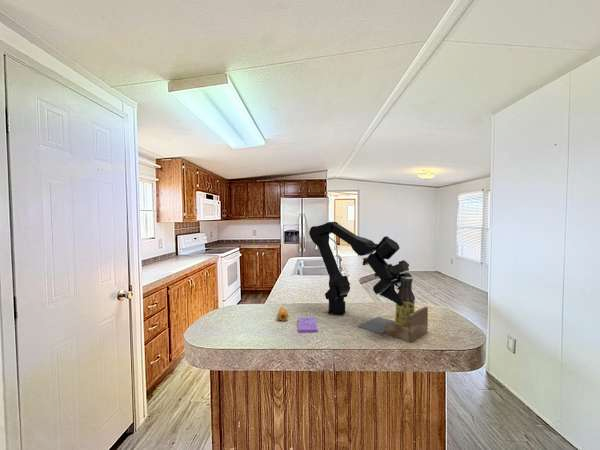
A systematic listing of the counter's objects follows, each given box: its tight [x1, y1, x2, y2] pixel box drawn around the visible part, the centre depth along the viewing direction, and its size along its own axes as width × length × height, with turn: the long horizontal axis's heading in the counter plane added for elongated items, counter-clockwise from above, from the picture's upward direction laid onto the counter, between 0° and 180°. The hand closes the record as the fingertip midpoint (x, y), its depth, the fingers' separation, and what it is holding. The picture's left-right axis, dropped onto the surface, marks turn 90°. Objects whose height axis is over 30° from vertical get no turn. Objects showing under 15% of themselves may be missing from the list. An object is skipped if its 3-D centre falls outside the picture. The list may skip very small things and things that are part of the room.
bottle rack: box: [385, 306, 429, 343], centre depth 107 cm, size 10×12×9 cm
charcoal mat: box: [357, 316, 395, 335], centre depth 115 cm, size 10×14×1 cm
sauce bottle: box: [394, 276, 416, 328], centre depth 107 cm, size 6×6×20 cm
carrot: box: [277, 306, 289, 322], centre depth 129 cm, size 20×4×4 cm, turn 5°
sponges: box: [297, 316, 319, 334], centre depth 115 cm, size 7×13×2 cm, turn 1°
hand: (408, 302), depth 106 cm, fingers open, 8 cm apart
